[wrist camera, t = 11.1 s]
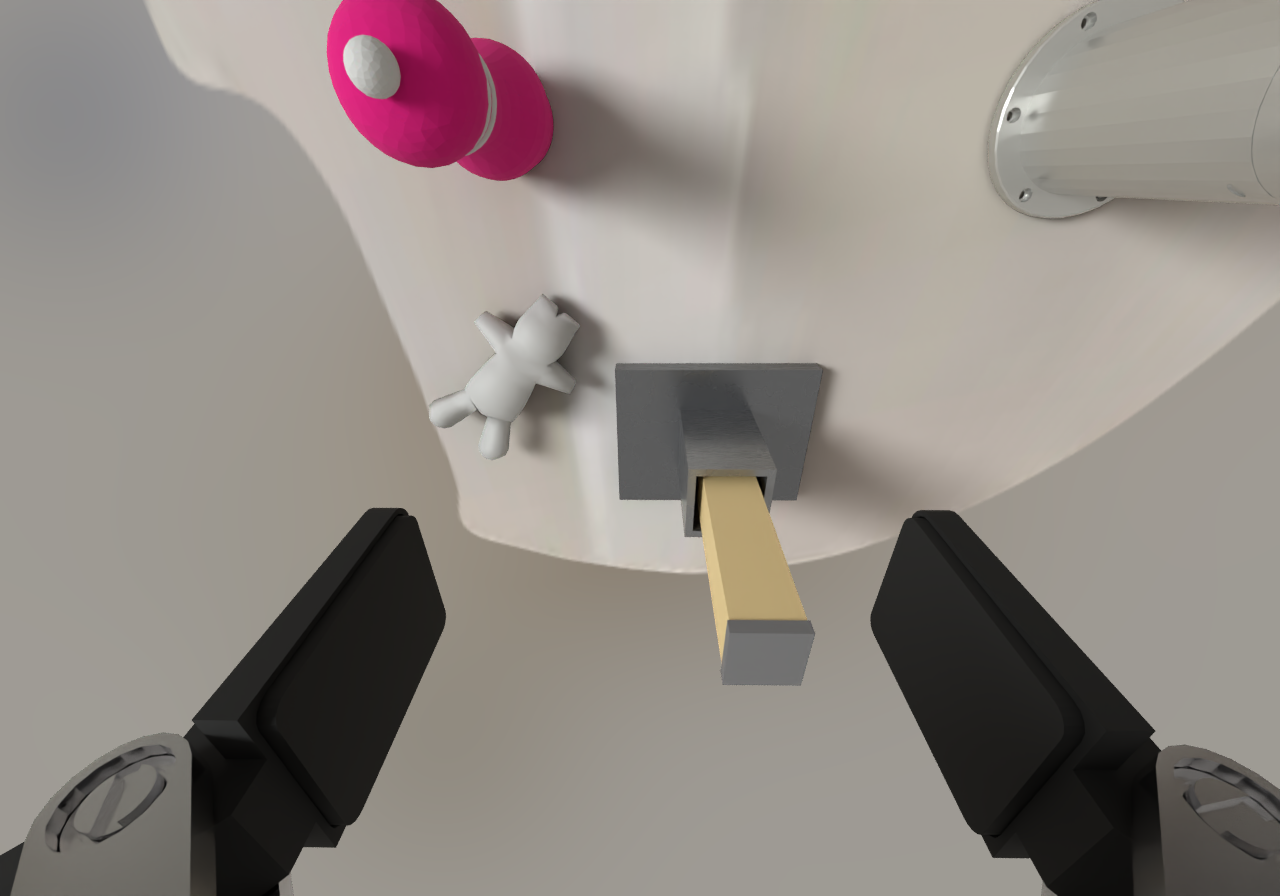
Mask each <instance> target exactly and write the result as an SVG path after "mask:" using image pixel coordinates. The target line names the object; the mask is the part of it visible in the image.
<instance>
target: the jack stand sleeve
mask: <svg viewBox="0 0 1280 896" xmlns="http://www.w3.org/2000/svg"><path fill="white" fill-rule="evenodd" d="M822 372H823V370H822V368H821V367H820V366H819V365H818V364H616V368H615V378H616V407H617V436H618V465H619V494H620V500H681V506H682V516H683V525H684V535H685V537H702V531H701V524H700V517H699V511H698V504H697V483H698V476H756V478H757V481H758V484H759V487H760V489H761V492H762V495H763V498H764V501H765V503H766V506H767V509H768V512H769V513H770V507H771V502H772V500H797V495H798V490H799V485H800V480H801V475H802V470H803V465H804V460H805V455H806V450H807V446H808V441H809V436H810V431H811V426H812V421H813V416H814V411H815V406H816V401H817V396H818V391H819V387H820V382H821V377H822Z"/></svg>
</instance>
